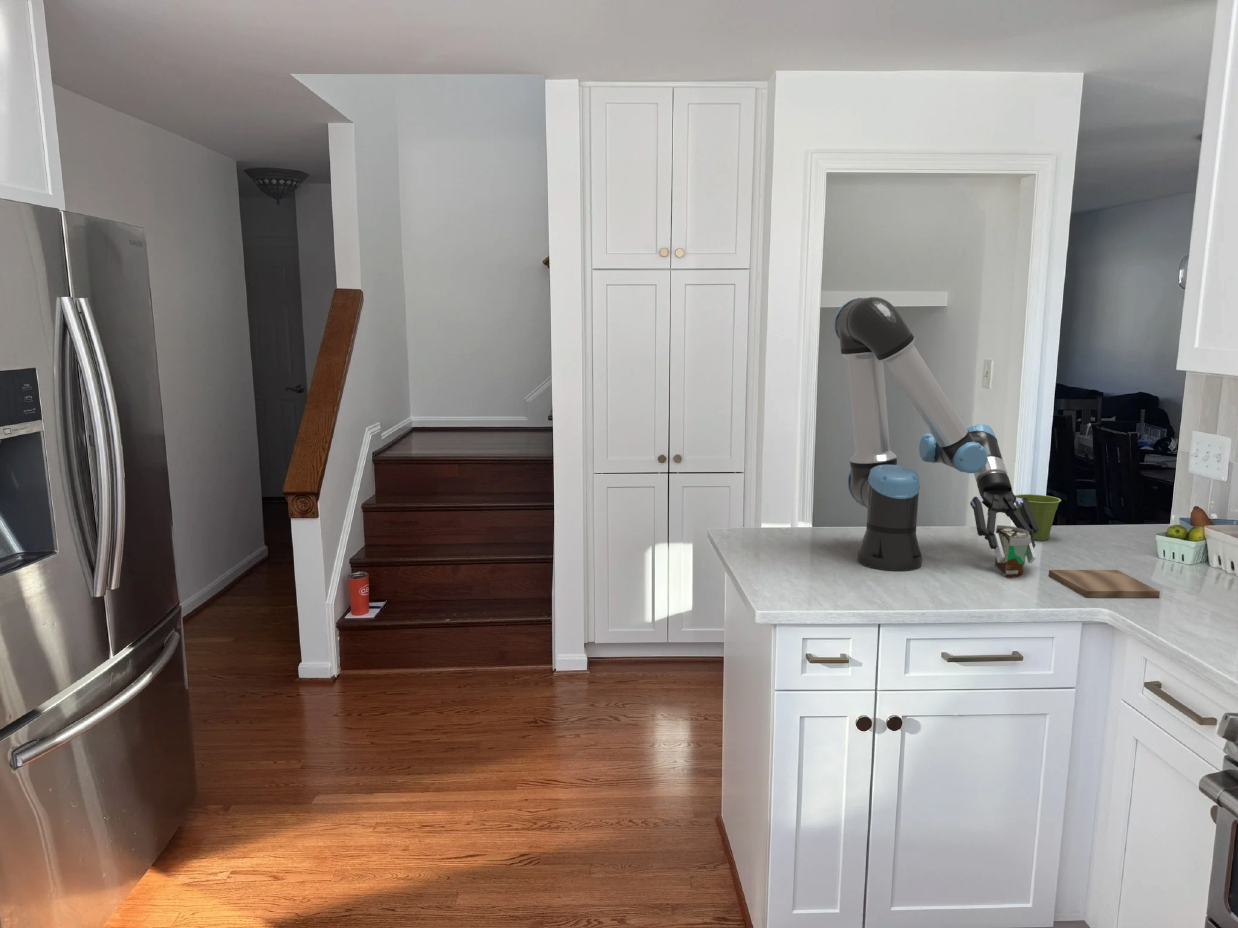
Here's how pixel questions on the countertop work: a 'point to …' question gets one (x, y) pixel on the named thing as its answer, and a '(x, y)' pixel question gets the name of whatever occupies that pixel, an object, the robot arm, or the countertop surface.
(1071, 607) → the countertop surface
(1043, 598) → the countertop surface
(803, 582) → the countertop surface
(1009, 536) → the food container
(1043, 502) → the plant pot
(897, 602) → the countertop surface
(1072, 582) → the walnut board
